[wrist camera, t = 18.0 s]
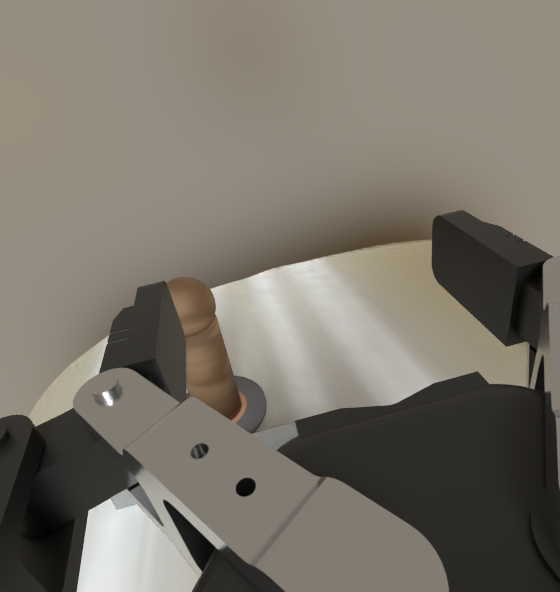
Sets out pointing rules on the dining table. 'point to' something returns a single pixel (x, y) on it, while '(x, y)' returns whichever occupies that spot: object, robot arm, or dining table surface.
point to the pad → (249, 404)
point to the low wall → (269, 436)
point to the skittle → (205, 348)
